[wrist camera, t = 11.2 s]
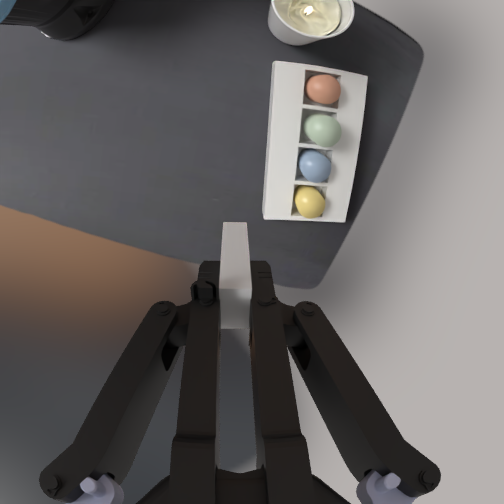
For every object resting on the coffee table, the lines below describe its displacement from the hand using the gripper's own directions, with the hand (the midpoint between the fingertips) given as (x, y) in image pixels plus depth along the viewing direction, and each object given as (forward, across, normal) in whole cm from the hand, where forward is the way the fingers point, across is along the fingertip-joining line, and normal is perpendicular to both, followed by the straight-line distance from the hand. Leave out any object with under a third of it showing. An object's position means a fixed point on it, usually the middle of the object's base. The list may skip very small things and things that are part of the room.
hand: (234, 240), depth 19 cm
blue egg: (+27, +12, -1) cm, 30 cm away
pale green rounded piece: (+25, +12, +5) cm, 28 cm away
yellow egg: (+27, +12, -7) cm, 31 cm away
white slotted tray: (+28, +12, +2) cm, 31 cm away
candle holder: (+29, +8, +22) cm, 37 cm away
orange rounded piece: (+27, +12, +11) cm, 32 cm away
